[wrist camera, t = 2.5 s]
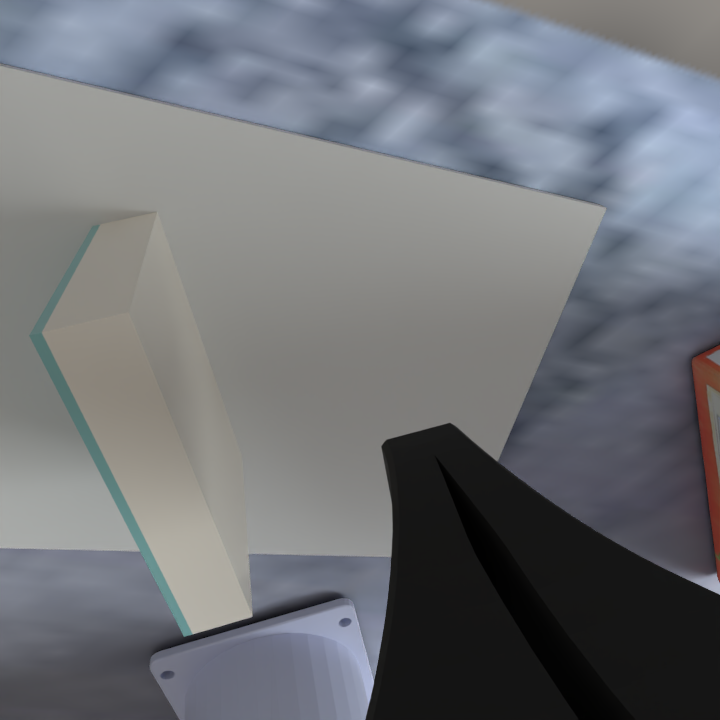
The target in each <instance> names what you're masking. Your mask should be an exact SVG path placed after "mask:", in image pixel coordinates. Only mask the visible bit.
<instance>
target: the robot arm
mask: <svg viewBox="0 0 720 720" xmlns="http://www.w3.org/2000/svg"><path fill="white" fill-rule="evenodd" d="M381 448H382V453H383V459H384V464H385V469H386V475H387V480H388V485H389V491H390V496H391V501H392V522H393V532H392V554H391V572H390V583H389V593H388V602H387V609H386V617H385V624H384V630H383V636H382V642H381V648H380V654H379V660H378V665H377V670H376V675H375V680H373V676H372V672H371V668H370V664H369V661H368V657H367V653H366V649H365V646H364V642H363V638H362V634H361V630H360V627H359V623H358V619H357V615H356V612H355V608H354V604H353V602H352V601H351V600H349V599H346V598H341V599H336V600H333V601H330V602H326V603H323V604H319V605H316V606H312V607H309V608H306V609H302V610H299V611H295V612H292V613H288V614H285V615H282V616H278V617H275V618H271V619H268V620H265V621H261V622H258V623H254V624H251V625H247V626H244V627H241V628H237V629H234V630H230V631H227V632H223V633H220V634H217V635H213V636H210V637H206V638H203V639H199V640H196V641H193V642H189V643H186V644H182V645H179V646H176V647H172V648H169V649H165V650H162V651H159V652H157V653H155V654H154V655H153V656H151V659H150V666H149V667H150V671H151V673H152V674H153V676H154V678H155V679H156V681H157V683H158V684H159V686H160V688H161V689H162V691H163V693H164V695H165V696H166V698H167V700H168V701H169V703H170V705H171V706H172V708H173V710H174V711H175V713H176V715H177V717H178V718H179V720H720V595H719V594H717V593H715V592H713V591H710V590H708V589H706V588H704V587H702V586H700V585H698V584H695V583H693V582H691V581H689V580H687V579H685V578H683V577H680V576H678V575H676V574H674V573H672V572H670V571H668V570H665V569H663V568H661V567H660V566H658V565H656V564H654V563H652V562H650V561H648V560H646V559H644V558H642V557H640V556H639V555H637V554H635V553H633V552H631V551H629V550H628V549H626V548H624V547H622V546H621V545H619V544H617V543H615V542H614V541H612V540H610V539H608V538H607V537H605V536H603V535H602V534H600V533H598V532H597V531H595V530H593V529H592V528H590V527H589V526H587V525H585V524H584V523H582V522H581V521H579V520H578V519H576V518H575V517H573V516H571V515H570V514H568V513H567V512H565V511H564V510H562V509H561V508H559V507H558V506H556V505H555V504H554V503H552V502H551V501H549V500H548V499H546V498H545V497H544V496H542V495H541V494H539V493H538V492H537V491H535V490H534V489H533V488H531V487H530V486H529V485H527V484H526V483H525V482H523V481H522V480H521V479H519V478H518V477H516V476H515V475H514V474H512V473H511V472H510V471H509V470H507V469H506V468H505V467H504V466H502V465H501V464H500V463H499V462H497V461H496V460H495V459H494V458H492V457H491V456H490V455H489V454H488V453H486V452H485V451H484V450H483V449H482V448H480V447H479V446H478V445H477V444H476V443H474V442H473V441H472V440H471V439H470V438H469V437H468V436H466V435H465V434H464V433H463V432H462V431H461V430H460V429H459V428H457V427H456V426H455V425H453V424H451V423H447V424H443V425H439V426H436V427H432V428H428V429H425V430H421V431H417V432H413V433H410V434H406V435H402V436H398V437H395V438H391V439H387V440H386V441H385V442H384V443H383V445H382V446H381Z"/></svg>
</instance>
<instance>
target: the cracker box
mask: <svg viewBox="0 0 720 720" xmlns="http://www.w3.org/2000/svg"><path fill="white" fill-rule="evenodd" d="M692 371H693V379H694V387H695V395H696V402H697V411H698V420H699V428H700V435H701V444H702V453H703V460H704V468H705V475H706V485H707V493H708V501H709V509H710V517H711V525H712V533H713V543H714V549H715V558H716V567H717V577H718V580H719V582H720V345H718V346H716V347H714V348H712V349H710V350H708V351H706V352H704V353H702V354H700V355H698V356H696V357H694V358H693V359H692Z"/></svg>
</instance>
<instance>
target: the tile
mask: <svg viewBox="0 0 720 720" xmlns="http://www.w3.org/2000/svg"><path fill="white" fill-rule="evenodd" d="M29 337H30V338H31V340H32V342H33V344H34V346H35V348H36V350H37V352H38V354H39V356H40V358H41V360H42V362H43V364H44V366H45V368H46V370H47V371H48V373H49V375H50V377H51V379H52V381H53V383H54V385H55V387H56V389H57V391H58V393H59V395H60V397H61V399H62V401H63V403H64V404H65V406H66V408H67V410H68V412H69V414H70V416H71V418H72V420H73V422H74V424H75V426H76V428H77V430H78V432H79V434H80V436H81V437H82V439H83V441H84V443H85V445H86V447H87V449H88V451H89V453H90V455H91V457H92V459H93V461H94V463H95V465H96V467H97V469H98V470H99V472H100V474H101V476H102V478H103V480H104V482H105V484H106V486H107V488H108V490H109V492H110V494H111V496H112V498H113V500H114V502H115V503H116V505H117V507H118V509H119V511H120V513H121V515H122V517H123V519H124V521H125V523H126V525H127V527H128V529H129V531H130V533H131V535H132V537H133V538H134V540H135V542H136V544H137V546H138V548H139V550H140V552H141V554H142V556H143V558H144V560H145V562H146V564H147V566H148V568H149V570H150V571H151V573H152V575H153V577H154V579H155V581H156V583H157V585H158V587H159V589H160V591H161V593H162V595H163V597H164V599H165V601H166V603H167V604H168V606H169V608H170V610H171V612H172V614H173V616H174V618H175V620H176V622H177V624H178V626H179V628H180V630H181V632H182V634H183V636H184V637H185V636H189V635H192V634H195V633H199V632H202V631H206V630H209V629H213V628H216V627H220V626H223V625H226V624H230V623H233V622H237V621H240V620H244V619H247V618H250V617H253V613H252V598H251V583H250V568H249V553H248V538H247V523H246V508H245V493H244V478H243V464H242V455H241V452H240V449H239V446H238V444H237V441H236V438H235V435H234V432H233V429H232V426H231V423H230V420H229V418H228V415H227V412H226V409H225V406H224V403H223V400H222V397H221V394H220V392H219V389H218V386H217V383H216V380H215V377H214V374H213V371H212V368H211V366H210V363H209V360H208V357H207V354H206V351H205V348H204V345H203V342H202V340H201V337H200V334H199V331H198V328H197V325H196V322H195V319H194V316H193V313H192V311H191V308H190V305H189V302H188V299H187V296H186V293H185V290H184V287H183V285H182V282H181V279H180V276H179V273H178V270H177V267H176V264H175V261H174V259H173V256H172V253H171V250H170V247H169V244H168V241H167V238H166V235H165V233H164V230H163V227H162V224H161V221H160V218H159V215H158V212H154V213H150V214H145V215H141V216H136V217H131V218H127V219H122V220H118V221H113V222H109V223H104V224H100V225H95V226H92V228H91V229H90V231H89V233H88V234H87V236H86V238H85V240H84V241H83V243H82V245H81V247H80V248H79V250H78V252H77V253H76V255H75V257H74V259H73V260H72V262H71V264H70V266H69V267H68V269H67V271H66V272H65V274H64V276H63V278H62V279H61V281H60V283H59V285H58V286H57V288H56V290H55V291H54V293H53V295H52V297H51V298H50V300H49V302H48V304H47V305H46V307H45V309H44V311H43V312H42V314H41V316H40V317H39V319H38V321H37V323H36V324H35V326H34V328H33V330H32V331H31V333H30V335H29Z"/></svg>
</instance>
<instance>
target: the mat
mask: <svg viewBox="0 0 720 720" xmlns="http://www.w3.org/2000/svg"><path fill="white" fill-rule="evenodd" d="M606 209H607V208H606V207H604V206H601V205H599V204H595V203H591V202H587V201H582V200H578V199H574V198H570V197H566V196H561V195H557V194H553V193H549V192H544V191H540V190H536V189H532V188H527V187H523V186H519V185H515V184H510V183H506V182H502V181H498V180H493V179H489V178H485V177H481V176H476V175H472V174H468V173H464V172H459V171H455V170H451V169H447V168H442V167H438V166H434V165H430V164H425V163H421V162H417V161H413V160H408V159H404V158H400V157H396V156H391V155H387V154H383V153H379V152H374V151H370V150H366V149H362V148H357V147H353V146H349V145H345V144H340V143H336V142H332V141H328V140H323V139H319V138H315V137H311V136H306V135H302V134H298V133H294V132H290V131H285V130H281V129H277V128H273V127H268V126H264V125H260V124H256V123H251V122H247V121H243V120H239V119H234V118H230V117H226V116H222V115H217V114H213V113H209V112H205V111H200V110H196V109H192V108H188V107H183V106H179V105H175V104H171V103H166V102H162V101H158V100H154V99H149V98H145V97H141V96H137V95H132V94H128V93H124V92H120V91H115V90H111V89H107V88H103V87H98V86H94V85H90V84H86V83H81V82H77V81H73V80H69V79H64V78H60V77H56V76H52V75H47V74H43V73H39V72H35V71H30V70H26V69H22V68H18V67H14V66H9V65H5V64H1V63H0V548H16V549H59V550H103V551H140V550H139V548H138V546H137V544H136V542H135V540H134V538H133V537H132V535H131V533H130V531H129V529H128V527H127V525H126V523H125V521H124V519H123V517H122V515H121V513H120V511H119V509H118V507H117V505H116V503H115V502H114V500H113V498H112V496H111V494H110V492H109V490H108V488H107V486H106V484H105V482H104V480H103V478H102V476H101V474H100V472H99V470H98V469H97V467H96V465H95V463H94V461H93V459H92V457H91V455H90V453H89V451H88V449H87V447H86V445H85V443H84V441H83V439H82V437H81V436H80V434H79V432H78V430H77V428H76V426H75V424H74V422H73V420H72V418H71V416H70V414H69V412H68V410H67V408H66V406H65V404H64V403H63V401H62V399H61V397H60V395H59V393H58V391H57V389H56V387H55V385H54V383H53V381H52V379H51V377H50V375H49V373H48V371H47V370H46V368H45V366H44V364H43V362H42V360H41V358H40V356H39V354H38V352H37V350H36V348H35V346H34V344H33V342H32V340H31V338H30V337H29V335H30V333H31V331H32V330H33V328H34V326H35V324H36V323H37V321H38V319H39V317H40V316H41V314H42V312H43V311H44V309H45V307H46V305H47V304H48V302H49V300H50V298H51V297H52V295H53V293H54V291H55V290H56V288H57V286H58V285H59V283H60V281H61V279H62V278H63V276H64V274H65V272H66V271H67V269H68V267H69V266H70V264H71V262H72V260H73V259H74V257H75V255H76V253H77V252H78V250H79V248H80V247H81V245H82V243H83V241H84V240H85V238H86V236H87V234H88V233H89V231H90V229H91V228H92V226H95V225H100V224H104V223H109V222H113V221H118V220H122V219H127V218H131V217H136V216H141V215H145V214H150V213H154V212H158V215H159V218H160V221H161V224H162V227H163V230H164V233H165V235H166V238H167V241H168V244H169V247H170V250H171V253H172V256H173V259H174V261H175V264H176V267H177V270H178V273H179V276H180V279H181V282H182V285H183V287H184V290H185V293H186V296H187V299H188V302H189V305H190V308H191V311H192V313H193V316H194V319H195V322H196V325H197V328H198V331H199V334H200V337H201V340H202V342H203V345H204V348H205V351H206V354H207V357H208V360H209V363H210V366H211V368H212V371H213V374H214V377H215V380H216V383H217V386H218V389H219V392H220V394H221V397H222V400H223V403H224V406H225V409H226V412H227V415H228V418H229V420H230V423H231V426H232V429H233V432H234V435H235V438H236V441H237V444H238V446H239V449H240V452H241V455H242V464H243V478H244V493H245V508H246V523H247V538H248V553H249V554H277V555H320V556H363V557H391V554H392V532H393V522H392V501H391V496H390V491H389V485H388V480H387V475H386V469H385V464H384V459H383V453H382V448H381V446H382V445H383V443H384V442H385V441H386V440H387V439H391V438H395V437H398V436H402V435H406V434H410V433H413V432H417V431H421V430H425V429H428V428H432V427H436V426H439V425H443V424H447V423H451V424H453V425H455V426H456V427H457V428H459V429H460V430H461V431H462V432H463V433H464V434H465V435H466V436H468V437H469V438H470V439H471V440H472V441H473V442H474V443H476V444H477V445H478V446H479V447H480V448H482V449H483V450H484V451H485V452H486V453H488V454H489V455H490V456H491V457H492V458H494V459H495V460H496V461H497V462H498V460H499V457H500V455H501V453H502V450H503V448H504V446H505V443H506V441H507V439H508V436H509V434H510V432H511V429H512V427H513V425H514V422H515V420H516V418H517V416H518V413H519V411H520V409H521V406H522V404H523V402H524V399H525V397H526V395H527V392H528V390H529V388H530V385H531V383H532V381H533V378H534V376H535V374H536V371H537V369H538V367H539V364H540V362H541V360H542V357H543V355H544V353H545V351H546V348H547V346H548V344H549V341H550V339H551V337H552V334H553V332H554V330H555V327H556V325H557V323H558V320H559V318H560V316H561V313H562V311H563V309H564V306H565V304H566V302H567V299H568V297H569V295H570V292H571V290H572V288H573V286H574V283H575V281H576V279H577V276H578V274H579V272H580V269H581V267H582V265H583V262H584V260H585V258H586V255H587V253H588V251H589V248H590V246H591V244H592V241H593V239H594V237H595V234H596V232H597V230H598V227H599V225H600V223H601V221H602V218H603V216H604V214H605V211H606Z"/></svg>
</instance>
